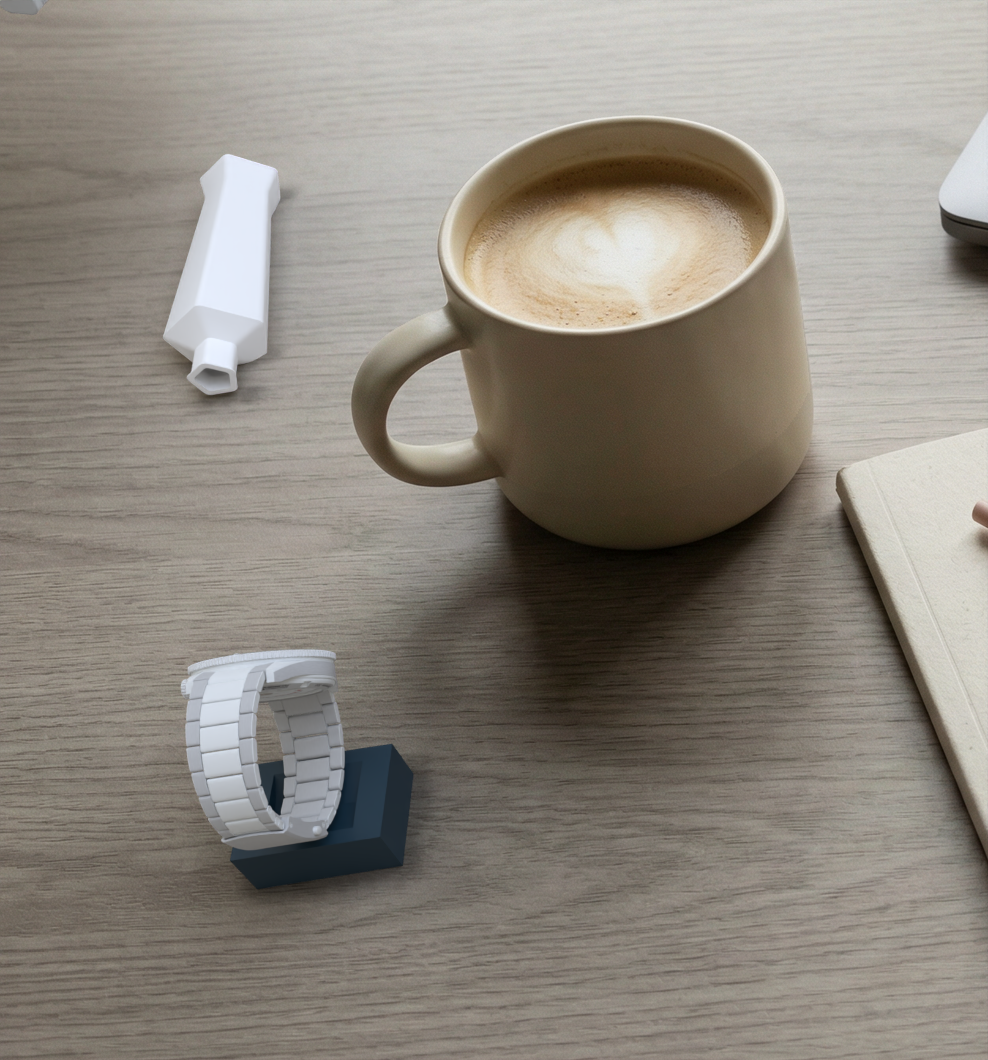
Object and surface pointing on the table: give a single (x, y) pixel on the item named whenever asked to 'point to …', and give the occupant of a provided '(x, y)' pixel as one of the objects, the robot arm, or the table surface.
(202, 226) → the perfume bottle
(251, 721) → the watch
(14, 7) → the robot arm
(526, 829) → the table surface
